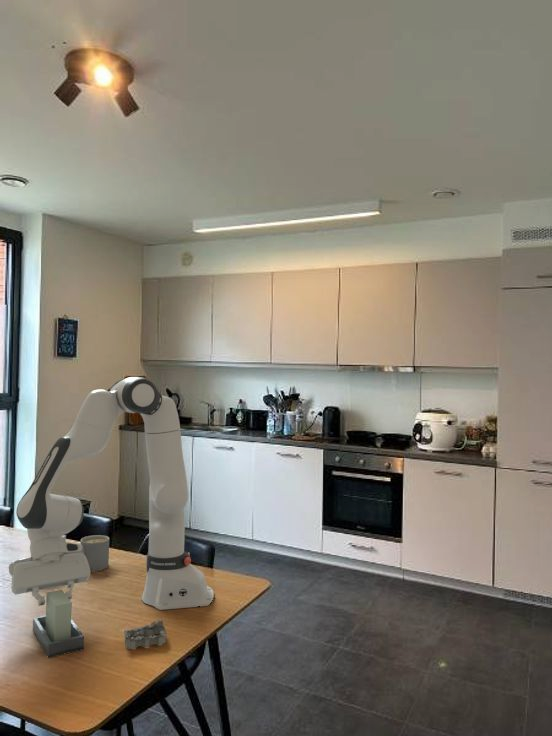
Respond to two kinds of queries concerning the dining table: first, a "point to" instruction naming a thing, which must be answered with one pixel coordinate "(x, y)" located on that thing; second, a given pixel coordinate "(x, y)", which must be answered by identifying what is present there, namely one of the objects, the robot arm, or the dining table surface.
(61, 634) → the sage green slab
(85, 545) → the coffee mug
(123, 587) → the dining table surface
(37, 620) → the grey rectangular tray
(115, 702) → the dining table surface
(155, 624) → the egg carton
